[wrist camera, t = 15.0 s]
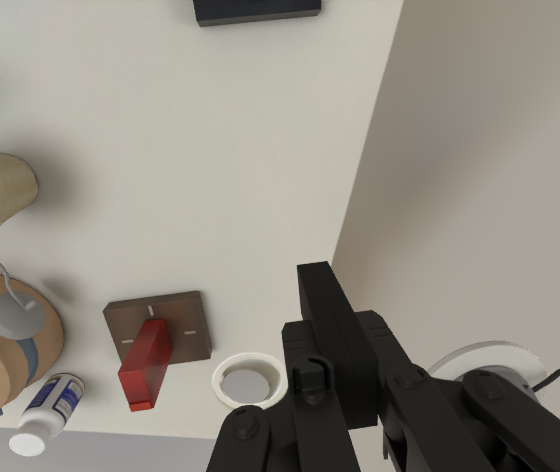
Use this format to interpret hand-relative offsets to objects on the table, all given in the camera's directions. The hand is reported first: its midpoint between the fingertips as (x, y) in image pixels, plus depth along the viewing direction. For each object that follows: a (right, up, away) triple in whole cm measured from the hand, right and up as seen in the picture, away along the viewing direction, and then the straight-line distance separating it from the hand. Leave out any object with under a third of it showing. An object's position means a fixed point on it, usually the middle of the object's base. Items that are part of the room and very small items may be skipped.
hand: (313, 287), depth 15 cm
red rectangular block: (-18, -11, +27) cm, 34 cm away
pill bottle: (-33, -20, +31) cm, 49 cm away
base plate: (-18, -10, +28) cm, 35 cm away
